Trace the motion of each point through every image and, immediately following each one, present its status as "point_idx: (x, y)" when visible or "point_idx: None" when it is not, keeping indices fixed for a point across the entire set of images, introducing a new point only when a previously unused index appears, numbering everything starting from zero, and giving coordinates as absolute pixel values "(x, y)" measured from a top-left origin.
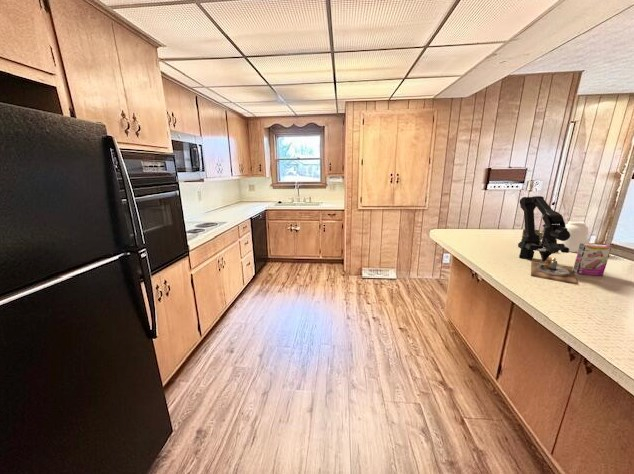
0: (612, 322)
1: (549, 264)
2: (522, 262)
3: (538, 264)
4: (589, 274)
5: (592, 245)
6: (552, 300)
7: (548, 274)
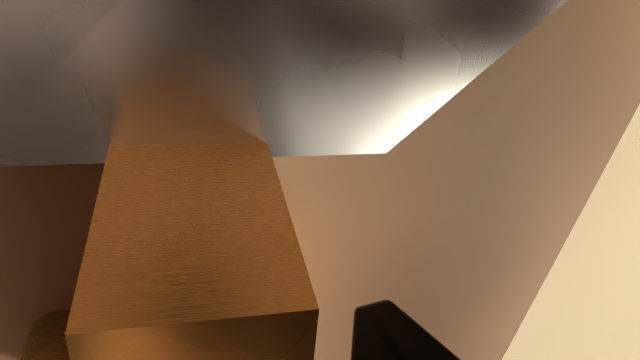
0: None
1: (218, 160)
2: (623, 305)
3: (422, 256)
4: None
5: None
6: None
7: None
